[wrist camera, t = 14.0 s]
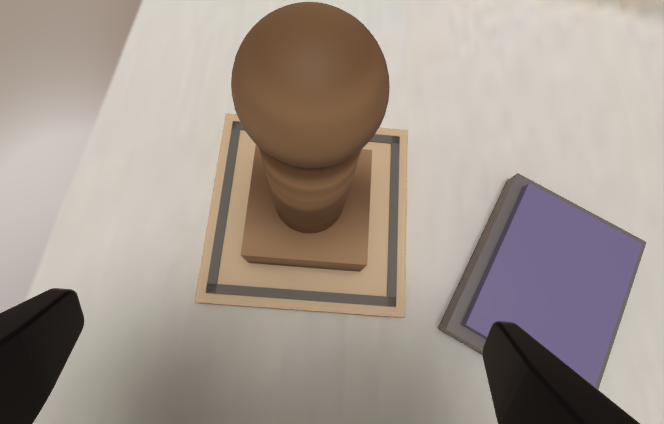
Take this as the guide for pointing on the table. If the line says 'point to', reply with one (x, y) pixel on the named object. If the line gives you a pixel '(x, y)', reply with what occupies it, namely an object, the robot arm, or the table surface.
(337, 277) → the beige square tile
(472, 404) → the table surface
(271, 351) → the table surface
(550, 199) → the ink pad
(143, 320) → the table surface
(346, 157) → the stamp
